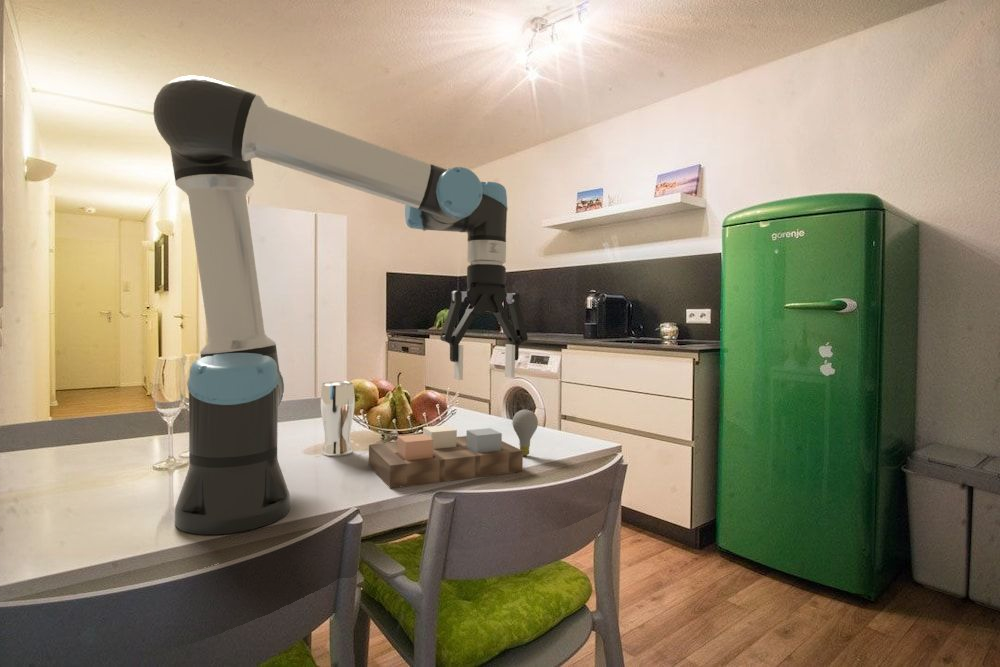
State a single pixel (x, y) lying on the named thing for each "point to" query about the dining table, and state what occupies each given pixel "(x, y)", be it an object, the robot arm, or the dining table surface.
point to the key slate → (484, 440)
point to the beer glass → (337, 417)
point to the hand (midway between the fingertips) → (484, 378)
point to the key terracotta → (414, 447)
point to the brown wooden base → (442, 464)
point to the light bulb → (525, 428)
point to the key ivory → (441, 436)
